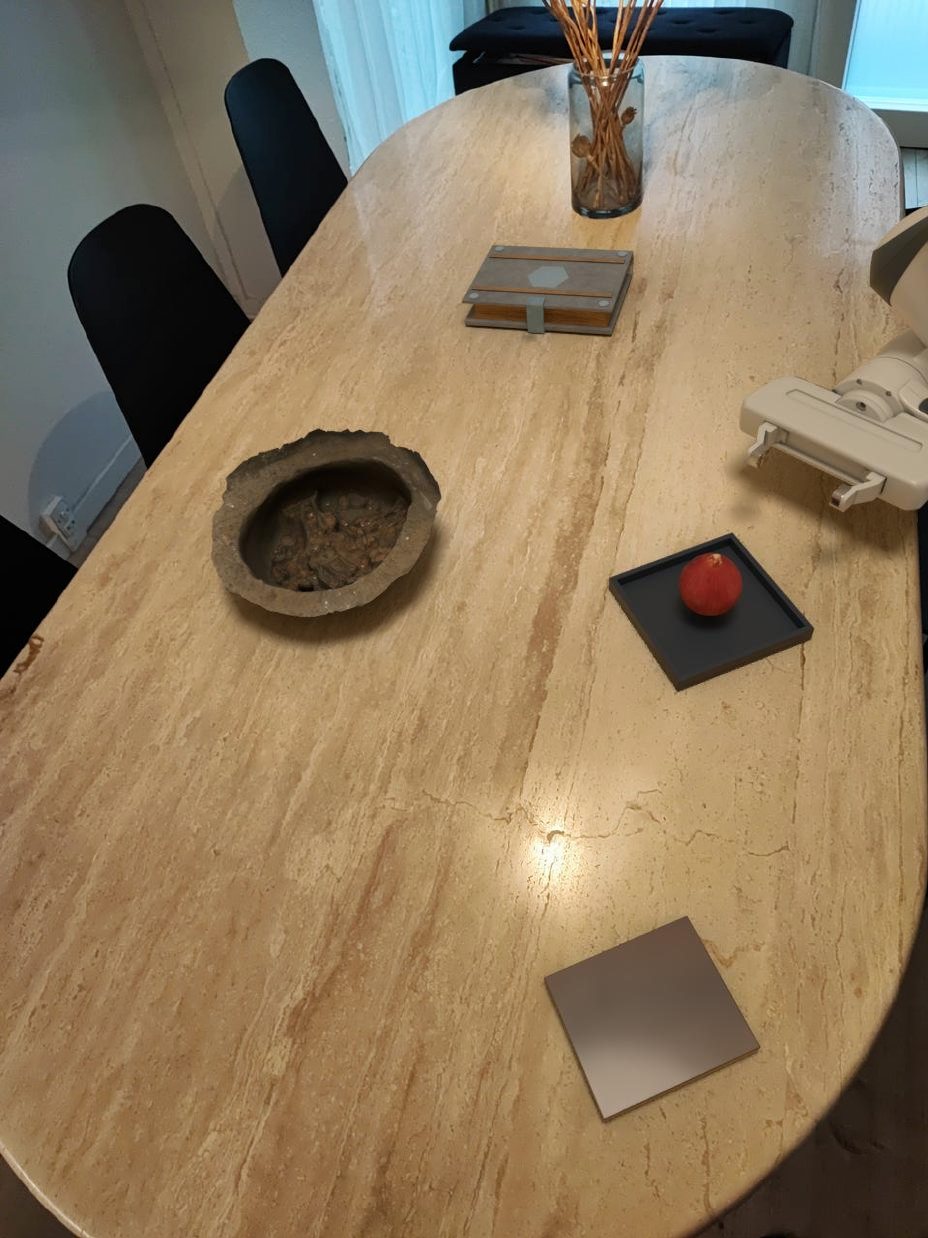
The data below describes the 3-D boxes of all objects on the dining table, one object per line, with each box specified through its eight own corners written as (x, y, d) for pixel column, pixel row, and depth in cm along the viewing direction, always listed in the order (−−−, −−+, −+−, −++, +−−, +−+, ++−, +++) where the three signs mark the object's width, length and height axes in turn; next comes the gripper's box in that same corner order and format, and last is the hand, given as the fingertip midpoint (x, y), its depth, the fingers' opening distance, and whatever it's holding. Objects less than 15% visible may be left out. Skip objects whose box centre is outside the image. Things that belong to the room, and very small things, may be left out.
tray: (811, 639, 81) (814, 628, 80) (677, 692, 79) (679, 681, 78) (730, 543, 90) (732, 531, 89) (608, 588, 88) (608, 577, 87)
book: (633, 274, 125) (634, 241, 121) (610, 338, 116) (611, 305, 112) (496, 267, 131) (493, 236, 127) (464, 328, 122) (460, 296, 118)
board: (758, 1051, 60) (761, 1047, 59) (603, 1123, 58) (603, 1120, 57) (686, 920, 66) (687, 915, 65) (544, 982, 64) (543, 977, 64)
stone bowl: (384, 453, 106) (372, 394, 98) (487, 588, 92) (482, 531, 85) (196, 536, 100) (169, 479, 92) (277, 692, 86) (252, 641, 79)
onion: (663, 609, 85) (669, 554, 79) (702, 578, 87) (710, 522, 81) (710, 642, 82) (719, 588, 75) (749, 609, 84) (761, 553, 77)
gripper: (790, 347, 90) (707, 411, 85) (981, 425, 79) (899, 504, 74) (780, 396, 95) (701, 460, 90) (959, 476, 84) (881, 554, 79)
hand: (792, 481), depth 82 cm, fingers open, 8 cm apart
